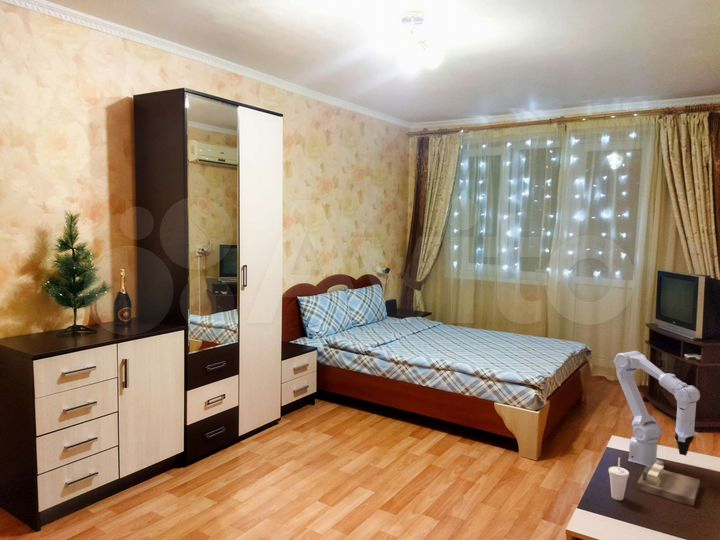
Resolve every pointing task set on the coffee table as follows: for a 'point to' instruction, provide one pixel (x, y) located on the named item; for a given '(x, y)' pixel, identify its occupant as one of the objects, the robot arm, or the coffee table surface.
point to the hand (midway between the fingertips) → (683, 454)
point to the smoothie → (618, 481)
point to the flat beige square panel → (671, 486)
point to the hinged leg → (655, 472)
